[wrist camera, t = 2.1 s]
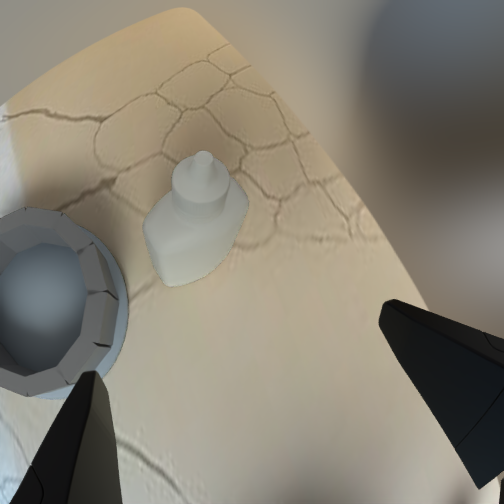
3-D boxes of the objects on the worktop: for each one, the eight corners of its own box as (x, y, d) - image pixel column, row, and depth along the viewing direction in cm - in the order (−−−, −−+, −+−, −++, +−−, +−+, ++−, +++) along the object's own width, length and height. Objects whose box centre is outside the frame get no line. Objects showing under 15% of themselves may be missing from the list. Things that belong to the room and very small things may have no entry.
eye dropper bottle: (152, 230, 22) (132, 117, 11) (228, 226, 24) (268, 117, 12) (154, 289, 21) (124, 215, 10) (234, 284, 22) (287, 209, 11)
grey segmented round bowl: (61, 434, 16) (38, 448, 12) (-41, 311, 17) (-70, 301, 13) (166, 298, 21) (162, 286, 17) (50, 193, 21) (33, 166, 18)
